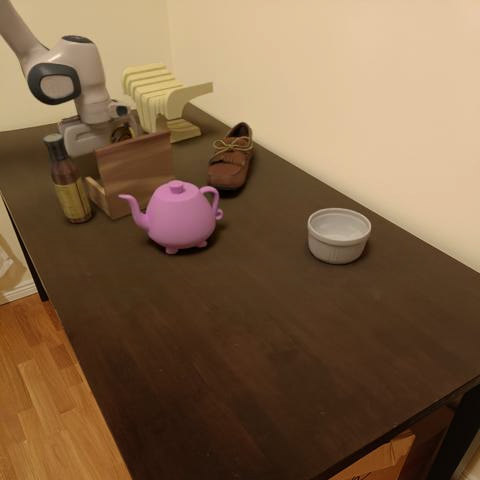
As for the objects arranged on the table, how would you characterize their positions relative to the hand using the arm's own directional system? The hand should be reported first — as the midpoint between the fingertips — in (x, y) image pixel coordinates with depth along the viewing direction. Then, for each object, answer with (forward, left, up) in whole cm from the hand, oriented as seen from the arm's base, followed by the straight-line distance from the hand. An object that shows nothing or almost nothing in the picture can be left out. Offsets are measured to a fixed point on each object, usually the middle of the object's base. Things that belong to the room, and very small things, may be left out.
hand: (107, 163), depth 119 cm
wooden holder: (+13, -8, -4) cm, 15 cm away
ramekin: (+68, -11, -4) cm, 69 cm away
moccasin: (+32, +14, -4) cm, 35 cm away
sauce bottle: (+6, -22, -4) cm, 23 cm away
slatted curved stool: (0, +34, -4) cm, 35 cm away
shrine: (+4, -1, -4) cm, 6 cm away
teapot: (+34, -21, -4) cm, 40 cm away
